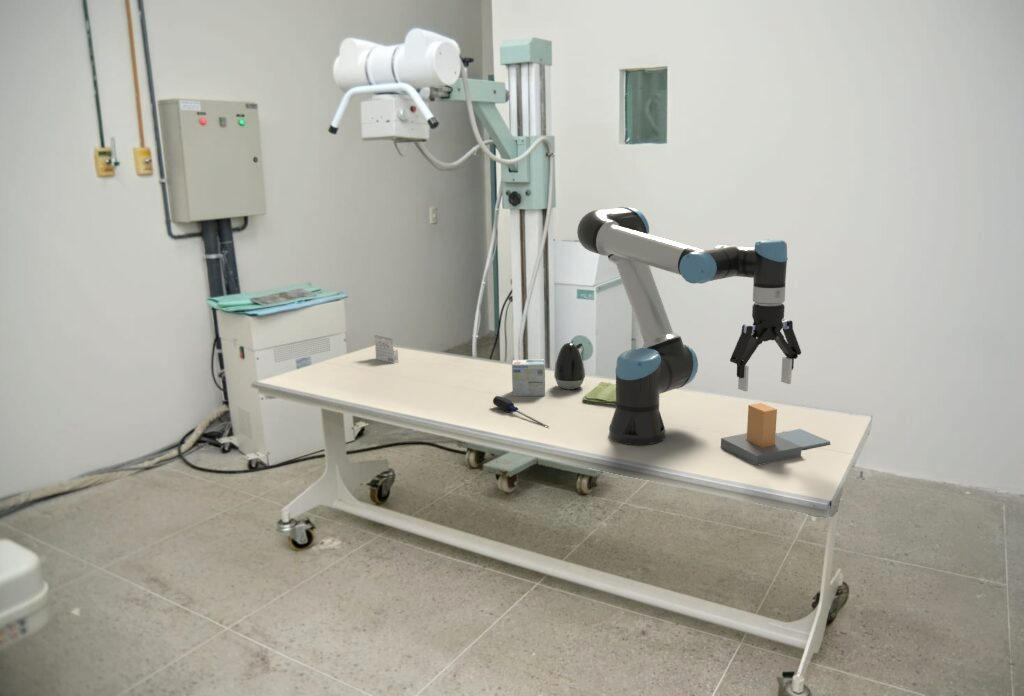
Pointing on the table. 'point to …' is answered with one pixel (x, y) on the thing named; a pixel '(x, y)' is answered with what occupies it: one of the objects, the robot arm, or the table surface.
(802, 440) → the rubber mat
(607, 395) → the washcloth
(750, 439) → the plug
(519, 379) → the light bulb box
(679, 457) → the table surface
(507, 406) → the screwdriver
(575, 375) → the pump dispenser
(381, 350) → the ink cartridge box
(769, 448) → the gray slotted square plate
